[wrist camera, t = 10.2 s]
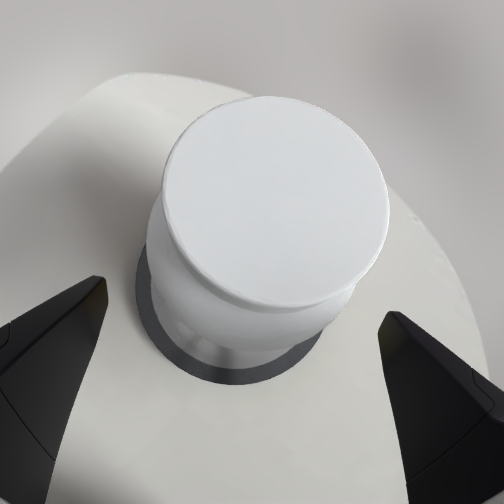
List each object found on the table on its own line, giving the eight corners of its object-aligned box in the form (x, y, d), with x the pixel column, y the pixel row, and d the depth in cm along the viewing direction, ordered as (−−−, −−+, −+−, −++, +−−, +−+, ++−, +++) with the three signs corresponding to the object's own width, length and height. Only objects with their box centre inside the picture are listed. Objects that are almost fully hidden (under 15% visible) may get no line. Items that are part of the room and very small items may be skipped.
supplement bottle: (175, 233, 19) (130, 68, 6) (284, 228, 20) (382, 79, 7) (181, 346, 17) (109, 372, 5) (296, 337, 18) (449, 331, 6)
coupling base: (310, 395, 18) (316, 398, 17) (121, 357, 17) (115, 358, 16) (336, 219, 22) (343, 212, 20) (167, 181, 21) (165, 172, 20)
